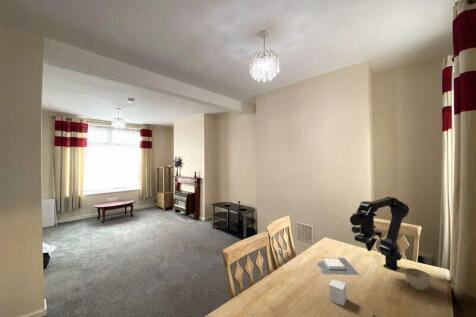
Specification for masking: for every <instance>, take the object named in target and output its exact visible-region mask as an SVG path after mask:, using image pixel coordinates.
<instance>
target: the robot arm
mask: <svg viewBox="0 0 476 317" xmlns="http://www.w3.org/2000/svg"><path fill="white" fill-rule="evenodd" d="M385 207H389V208H390V210H389V211H390V214H391V219H390V222H389V226H388V230H387V234H386V236H385V239H381V240H380V242H379V245H378V246H379V250H380V253H381V255H382V256H384V257H385V258H384V259H385V264H383V265H382V266H383V267H384V268H386V269H389V270H392V271H395V272H396V271H398V270H400V269H401V267H400V266H398V261H399V262H400V261H401V260H402V257H403V255H402V254H400V252H399V246H398V244H397V240H398V236H399V232H400V229H401V225H402V221H403V219H404V218H406V217H407V216H408V214H409V212H410V208H409V206H408V205H407V204H406V203H405V202H402V201H400V200H399V199H398V198H396V197H391V196H386V197H383V198H380V199H377V200H373V201H370V200H369V201H368V200H367V201H366V200H364V201H361V202H360V203H359V205H358V207H357V209H356V211H355V212H352V215H351V216H350V217H349V221H350V224H351V225H352V226H351V232H352V233H353V234H355V236H353V237H354V241H356V242H360V243H363V244H365V247H366V249H367V251H368V252H371V250H372V249H373V247H374V245H375V244H376V242H377V240H378V239H377V238H375V237H378V238H383V233H382V231H379V230H375V229H376V228H377V226H376V225H375V223H374V222H375V219H374V218H375V217H377V214H376V212H378V210H379V209H382V208H385ZM356 234H357V235H356Z"/></svg>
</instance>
